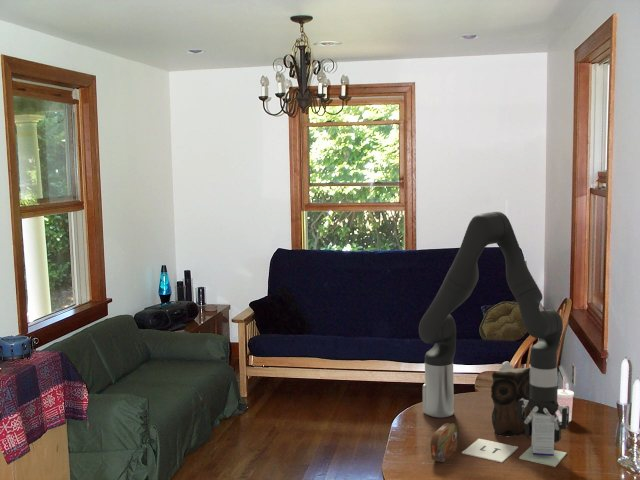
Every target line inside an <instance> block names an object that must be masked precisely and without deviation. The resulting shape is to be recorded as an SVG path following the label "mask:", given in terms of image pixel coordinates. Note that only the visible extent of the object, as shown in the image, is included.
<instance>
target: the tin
mask: <svg viewBox="0 0 640 480" xmlns="http://www.w3.org/2000/svg"><path fill="white" fill-rule="evenodd" d="M458 444H459V430H458V426H457V424H456V423H450V422H446V423H443V424H442V425H441V426H440V427H439V428H438V429H436V430H435V432H433V434H432V436H431V439H430V456H431V459H432V460H433V461H434V462H440V463H445V462H446V461H447V460H448V459H449V458H450V457H451V456H452V455H453V454H454V453H455V452H456V451H457V448H458Z"/></svg>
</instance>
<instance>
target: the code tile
mask: <svg viewBox="0 0 640 480" xmlns="http://www.w3.org/2000/svg"><path fill="white" fill-rule="evenodd" d="M518 449H519V446H516V445H511V444H507V443H501V442H497V441H492V440H488V439H483V438H477V439H476V440H475V441H474V442H473V443H472V444H471V445H469V446H467V448H466V449H464V450H463V451H461V454H462V455H467V456H471V457H476V458H479V459H484V460H489V461H491V462H492V461H493V462H497V463H504V462H505V461H506V460H507V459H508V458H509V457H510V456H511V455H512V454H513V453H514V452H515V451H517V450H518Z"/></svg>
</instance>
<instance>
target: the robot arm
mask: <svg viewBox="0 0 640 480" xmlns="http://www.w3.org/2000/svg"><path fill="white" fill-rule="evenodd" d="M493 244H496V245H497V246H498V247H499V249H500V250H501V252H502V255H503V256H504V260H505V261H504V262H505V277H506V278H505V279H506V283H507V285H508V287H509V290H510V291H511V293H512V295H513V297H514V299H515V301H516V303H517V304H518V307H519V308H518V309H519V312H520V313H519V314H520V317H521V320H522V324H523V327H524V329H525V331H526V332H527V333H528V335H530V336H531V337H532V338H534V339H538V340H537V342H536V343H535V344H533V345H532V346H531V348H530V356H529V357H530V360H529V361H530V366H529V367H530V373H529V400H525V399H524V398H521V399H520V400H519V401H518V420H519V421H523V422H524V423H525V434H524V435H526V437H527V438H530V437H532V422H531V420H532V418H533V413H541V414H546V415H547V416H551V422H554V444H558V442H560V441H561V439H562V430H566V429H567V428H568V427H569V425H570V422H569V407H568V406H565V407H563V406H559V405H558V402H557V393H558V389H559V387H558V386H559V385H558V383H559V378H558V377H559V375H558V367H557V366H558V350H559V346H560V344H561V340H562V339H561V338H562V334H563V329H564V326H563V325H564V324H563V319H562V317H561V314H560V313H559V312H558V311H556V310H555V309H545V310H540V307H539V303H541V302H542V301H543V294H542V292H541V290H540V287H539V286H538V284H537V282H536V281H535V279H534V277H533V275H532V274H531V272H530V269H529V268H528V265H527V263H526V261H525V258H524V256H523V255H524V254H523V252H522V250H521V248H520V245H519V241H518V240H517V237H516V234H515V231H514V229H513V225H512V224H511V222H510V219H509V218H508V216H507V215H506V214H504V213H503V212H500V211H491V212H485V213H484V212H483V213H478V214H477V215H475V216H473V217H472V218H471V220H470V221H469V223H468V226H467V228H466V230H465V233H464V236H463V238H462V242H461V245H460V247H459V249H458V252H457V253H456V255H455V257H454V259H453V262H452V264H451V266H450V267H449V269H448V271H447V273H446V275H445V277H444V280H443V281H442V284H441V286H440V288H439V290H438V292H437V293H436V295H435V297H434V298H433V300H432V302H431V304H429V307H428V308H427V310H426V311H425V313H424V314H423V316H422V318H421V319H420V321H419V325H418V334H419V339H421V341H423V342H424V343H425V344H433V346H432V347H431V348H430V349H429V350H428V351H426V353H425V355H424V384H423V385H422V413H423V414H425V415H427V416H430V417H433V418H448V417H451V416H453V415H454V413H455V412H454V410H455V409H454V408H455V405H454V403H455V402H454V399H455V398H454V395H455V394H454V391H455V390H454V358H455V355H456V349H457V348H456V347H457V326H456V321H455V319H454V317H453V316H452V314H451V313H453V312H454V311H455V310H456V309H457V308H458V307H460V306H461V305H462V304H463V303H465V301H466V300H468V298H469V297H470V296H471V295H472V293H473V291H474V289H475V288H476V285H477V283H478V281H479V275H480V274H479V265H478V261H479V258H480V256H481V254H482V253H483V251H484V249H486V247H487V246H489V245H493ZM527 404H528V406H529V407H530V409H531V410H532V411H531V412H530V414H529V415H528V417H526V416H525V407H526V406H527ZM557 410H559V411H560V414H562V422H560V421H559V418H558V416H557V414H556V411H557ZM552 415H554V416H555V420H554V419H553V417H552Z"/></svg>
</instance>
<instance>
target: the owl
mask: <svg viewBox="0 0 640 480" xmlns="http://www.w3.org/2000/svg"><path fill="white" fill-rule="evenodd" d="M529 373H530V366H529V367H522V368H521V367H520V368H514V369H508V370H504V371H500V372H499V371H495V370H494V371H493V372H492V374H491V377H492V383H491V387H490V389H491V390H490V394H491V395H490V397H491V399H492V402H493V409H492V414H491V423H492V427H493V430H494V431H493V433H494V434H495V435H496V434H497V435H496V436H498V435H501V437H507V436H510V438H511V436H512V437H514V436H520V435H521V434H522V435H526V434H525V423H524V422H523V421H519V420H518V401H519V400H520V399H521V398H524V399H525V400H529ZM531 411H532V410H531V409H530V407H529V406H528V404H527V406H526V407H525V416H526V417H528V415H529V414H530V412H531ZM531 422H532V420H531ZM513 435H514V436H513Z"/></svg>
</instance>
